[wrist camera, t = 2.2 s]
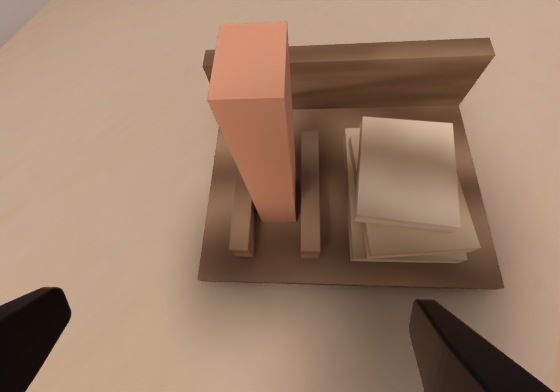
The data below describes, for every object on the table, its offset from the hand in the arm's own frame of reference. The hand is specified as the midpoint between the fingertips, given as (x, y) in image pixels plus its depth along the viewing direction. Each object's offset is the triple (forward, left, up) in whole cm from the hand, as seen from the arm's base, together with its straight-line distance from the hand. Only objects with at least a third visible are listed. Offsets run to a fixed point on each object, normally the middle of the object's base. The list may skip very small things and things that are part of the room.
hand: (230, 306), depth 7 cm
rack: (+6, -9, -13) cm, 17 cm away
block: (+7, -4, -12) cm, 15 cm away
